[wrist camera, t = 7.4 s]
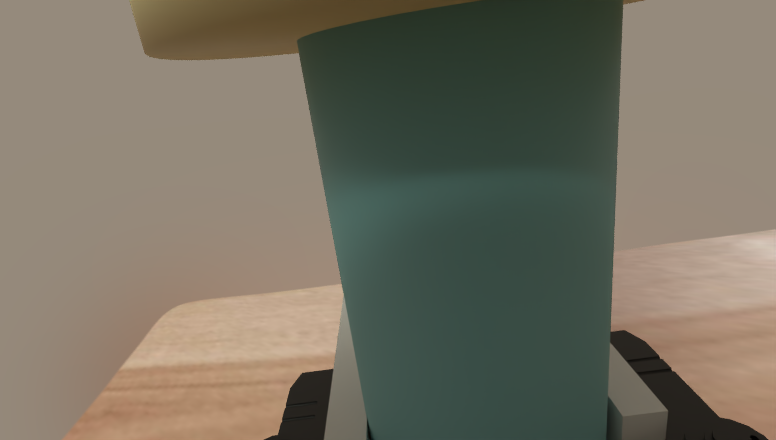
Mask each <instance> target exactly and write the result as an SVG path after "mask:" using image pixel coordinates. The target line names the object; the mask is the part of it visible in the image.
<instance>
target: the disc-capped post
mask: <svg viewBox="0 0 776 440" xmlns="http://www.w3.org/2000/svg"><path fill="white" fill-rule="evenodd" d="M129 1H130V5H131V8H132V11H133V15H134V18H135V22H136V25H137V28H138V32H139V35H140V39H141V42H142V46H143V49H144V52H145V54H146V55H148V56H149V57H153V58H158V59H168V60H213V59H232V58H248V57H260V56H272V55H283V54H294V53H299V55H300V61H301V67H302V72H303V77H304V83H305V88H306V94H307V99H308V104H309V110H310V115H311V121H312V126H313V131H314V136H315V141H316V147H317V153H318V158H319V164H320V169H321V174H322V180H323V185H324V190H325V196H326V201H327V207H328V212H329V218H330V223H331V228H332V234H333V239H334V244H335V250H336V255H337V261H338V266H339V271H340V277H341V282H342V288H343V293H344V298H345V304H346V309H347V314H348V320H349V325H350V331H351V336H352V341H353V347H354V352H355V358H356V363H357V368H358V374H359V379H360V384H361V390H362V395H363V401H364V406H365V411H366V416H367V421H368V426H369V431H370V437H371V440H606V433H607V407H608V381H609V355H610V330H611V304H612V278H613V252H614V226H615V200H616V199H615V198H616V173H617V147H618V122H619V96H620V70H621V68H620V67H621V43H622V18H623V4H628V3H633V2H638V1H643V0H129Z"/></svg>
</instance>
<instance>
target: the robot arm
mask: <svg viewBox="0 0 776 440" xmlns="http://www.w3.org/2000/svg"><path fill="white" fill-rule="evenodd" d="M264 440H371V437H370V431H369V426H368V421H367V416H366V411H365V406H364V401H363V395H362V390H361V384H360V379H359V374H358V368H357V363H356V358H355V352H354V347H353V341H352V336H351V331H350V325H349V320H348V314H347V309H346V304H345V298H344V297H343V304H342V311H341V319H340V326H339V333H338V341H337V348H336V355H335V362H334V369H329V370H322V371H314V372H306V373H302V374H301V375H300V377H299V378H298V379H297V380H296V382H295V383H294V384H293V385H292V387H291V388H290V391H289V395H288V399H287V403H286V408H285V410H284V414H283V418H282V423H281V425H280V429H279V433H278V435H275V436H271V437H269V438H267V439H264ZM606 440H768V439H767V438H766V437H765V436H764V435H762V434H760V433H759V432H757V431H755V430H754V429H752V428H750V427H749V426H747V425H744V424H741V423H738V422H736V421H733V420H730V419H725V418H720V417H719V416H718V415H717V414H716V413H715V412H714V411H713V410H712V409H711V408H710V407H709V406H708V405H707V404H706V403H705V402H704V401H703V400H702V399H701V398H700V397H699V396H698V395H697V394H696V393H695V392H694V391H693V390H692V389H691V388H690V387H689V386H688V385H687V384H686V383H685V382H684V381H683V380H682V379H681V378H680V377H679V376H678V375H677V374H676V373H675V372H674V371H673V372H672V370H671V367H670V366H669V365H668V364H667V363H666V362H665V361H664V360H663V359H660V357H659V355H658V354H657V353H656V352H655V351H654V350H653V349H652V348H651V347H650V346H649V345H648V344H647V343H646V342H645V341H643V340H641V339H640V338H638V337H636V336H634V335H632V334H631V333H629V332H627V331H625V330H622V331H615V332H610V355H609V381H608V407H607V433H606Z"/></svg>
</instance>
